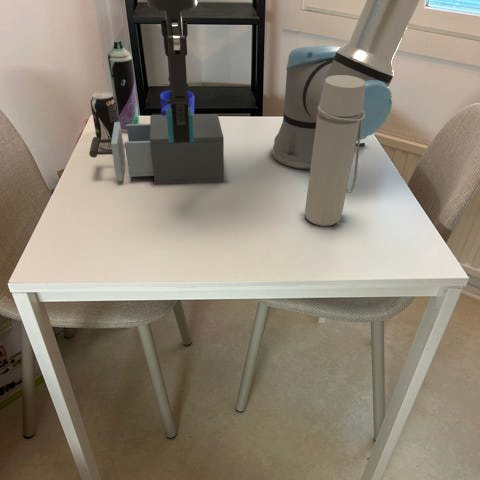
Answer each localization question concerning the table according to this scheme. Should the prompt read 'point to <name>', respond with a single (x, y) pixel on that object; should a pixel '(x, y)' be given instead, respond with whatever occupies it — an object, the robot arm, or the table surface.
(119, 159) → the drawer
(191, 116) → the cube
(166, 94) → the mug
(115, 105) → the beverage can
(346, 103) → the water bottle
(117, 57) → the spray can
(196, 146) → the grey drawer cabinet
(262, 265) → the table surface
